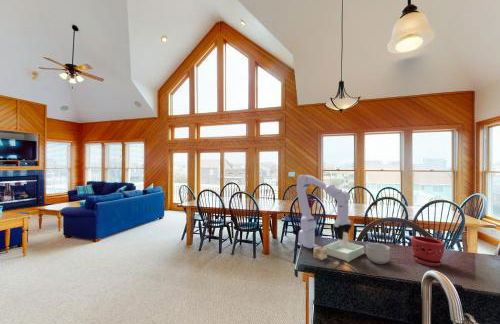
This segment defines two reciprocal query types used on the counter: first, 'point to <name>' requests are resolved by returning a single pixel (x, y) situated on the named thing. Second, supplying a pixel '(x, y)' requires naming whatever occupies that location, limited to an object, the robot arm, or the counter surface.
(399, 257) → the counter surface
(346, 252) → the tote
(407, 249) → the counter surface
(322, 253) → the oak cube
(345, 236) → the white canister
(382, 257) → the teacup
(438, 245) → the plant pot
